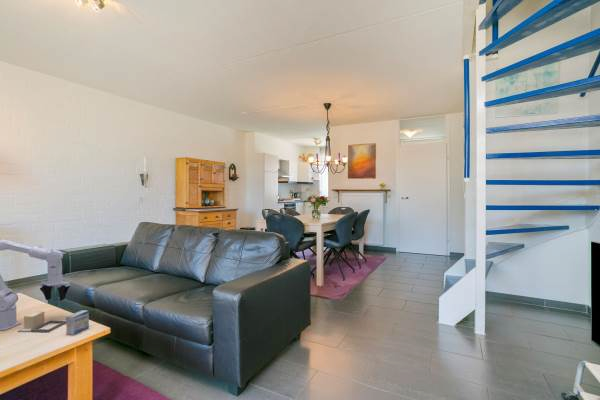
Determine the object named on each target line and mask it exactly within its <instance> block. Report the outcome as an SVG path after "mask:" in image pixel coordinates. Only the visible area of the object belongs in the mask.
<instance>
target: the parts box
mask: <svg viewBox="0 0 600 400" xmlns="http://www.w3.org/2000/svg"><path fill="white" fill-rule="evenodd" d="M45 322H46V320H45V311H34V312H31V313H30V314H27V315H25V316H24V317H23V328H24V329H33V328H35V327H37V326H39V325H42V324H44V323H45Z"/></svg>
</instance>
